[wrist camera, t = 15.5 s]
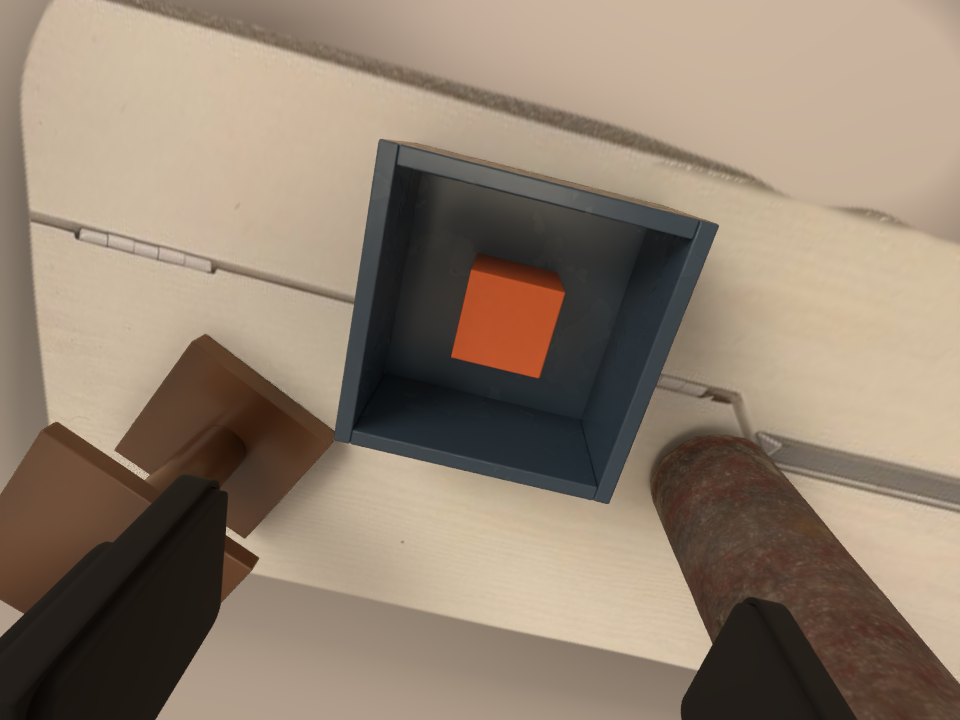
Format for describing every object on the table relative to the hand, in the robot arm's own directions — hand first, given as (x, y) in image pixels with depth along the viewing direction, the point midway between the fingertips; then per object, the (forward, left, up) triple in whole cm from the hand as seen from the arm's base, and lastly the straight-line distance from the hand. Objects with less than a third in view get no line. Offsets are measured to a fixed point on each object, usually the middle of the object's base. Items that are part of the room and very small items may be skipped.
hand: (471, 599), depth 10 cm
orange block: (0, 0, -21) cm, 21 cm away
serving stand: (-7, -19, -22) cm, 30 cm away
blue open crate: (0, 0, -22) cm, 22 cm away
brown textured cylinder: (+17, 0, -22) cm, 28 cm away
